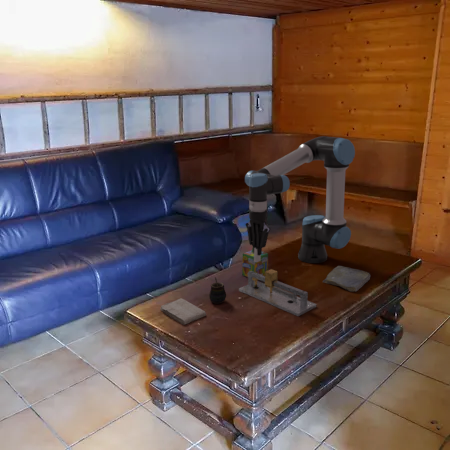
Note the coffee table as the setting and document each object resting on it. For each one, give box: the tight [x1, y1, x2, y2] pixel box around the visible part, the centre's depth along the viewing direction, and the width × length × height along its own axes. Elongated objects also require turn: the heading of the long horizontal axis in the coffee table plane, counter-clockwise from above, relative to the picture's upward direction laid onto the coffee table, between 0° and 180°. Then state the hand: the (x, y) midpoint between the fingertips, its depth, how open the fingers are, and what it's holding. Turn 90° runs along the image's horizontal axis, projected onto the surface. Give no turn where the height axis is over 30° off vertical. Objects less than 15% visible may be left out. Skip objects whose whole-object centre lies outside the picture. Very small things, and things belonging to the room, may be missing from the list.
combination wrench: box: [272, 286, 300, 300], centre depth 208 cm, size 4×1×20 cm
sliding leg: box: [264, 269, 278, 293], centre depth 205 cm, size 4×4×10 cm
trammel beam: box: [238, 271, 317, 317], centre depth 204 cm, size 12×34×8 cm, turn 43°
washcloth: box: [159, 298, 207, 325], centre depth 194 cm, size 12×18×3 cm, turn 43°
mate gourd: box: [209, 276, 227, 305], centre depth 202 cm, size 7×8×10 cm
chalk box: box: [241, 247, 269, 278], centre depth 228 cm, size 9×9×15 cm
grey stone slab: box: [322, 265, 371, 292], centre depth 221 cm, size 20×5×17 cm
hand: (257, 261), depth 209 cm, fingers closed
